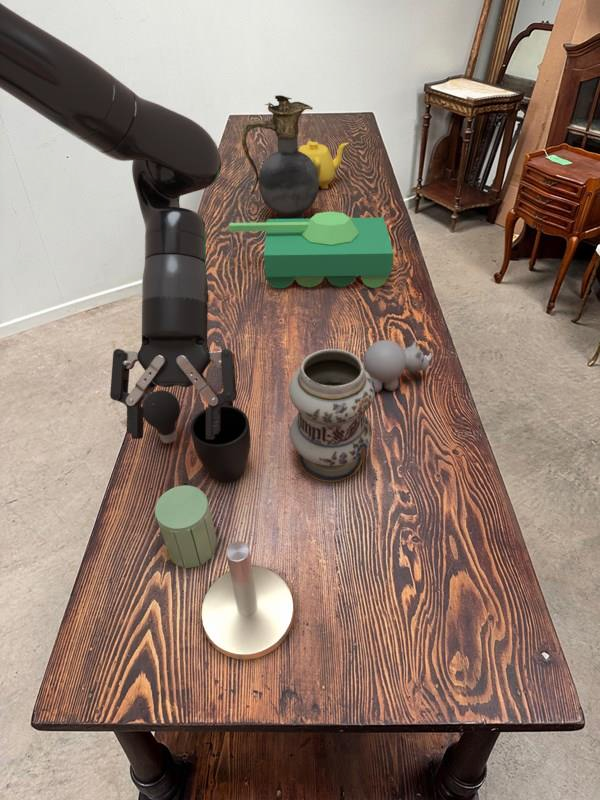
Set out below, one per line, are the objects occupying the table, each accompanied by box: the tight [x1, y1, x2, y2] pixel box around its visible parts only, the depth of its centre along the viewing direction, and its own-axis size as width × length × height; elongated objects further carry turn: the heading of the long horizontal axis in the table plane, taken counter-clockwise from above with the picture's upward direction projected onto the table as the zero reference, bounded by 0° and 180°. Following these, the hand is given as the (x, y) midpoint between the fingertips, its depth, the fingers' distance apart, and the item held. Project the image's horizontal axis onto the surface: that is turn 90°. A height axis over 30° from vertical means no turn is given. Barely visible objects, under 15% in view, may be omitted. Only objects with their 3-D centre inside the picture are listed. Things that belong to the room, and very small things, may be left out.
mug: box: [189, 401, 251, 484], centre depth 80 cm, size 8×12×10 cm
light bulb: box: [141, 389, 181, 444], centre depth 83 cm, size 6×6×10 cm
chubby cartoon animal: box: [363, 339, 433, 393], centre depth 93 cm, size 7×12×8 cm, turn 96°
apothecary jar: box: [288, 348, 376, 483], centre depth 77 cm, size 12×12×18 cm
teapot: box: [298, 140, 349, 190], centre depth 158 cm, size 14×14×12 cm
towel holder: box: [200, 540, 295, 661], centre depth 60 cm, size 11×11×14 cm
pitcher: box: [241, 94, 320, 219], centre depth 135 cm, size 11×19×30 cm, turn 95°
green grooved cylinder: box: [154, 484, 218, 569], centre depth 69 cm, size 6×7×9 cm
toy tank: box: [228, 210, 394, 289], centre depth 121 cm, size 18×12×35 cm
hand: (174, 438), depth 63 cm, fingers open, 8 cm apart
